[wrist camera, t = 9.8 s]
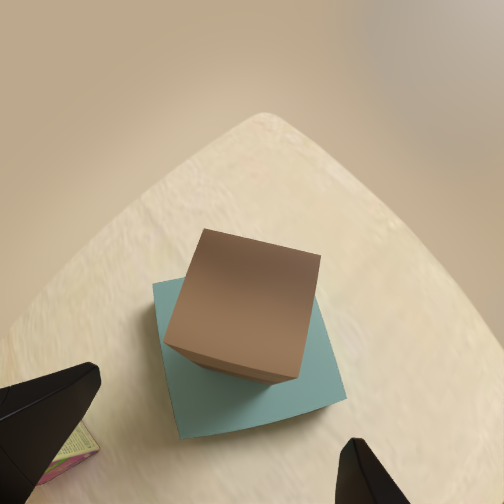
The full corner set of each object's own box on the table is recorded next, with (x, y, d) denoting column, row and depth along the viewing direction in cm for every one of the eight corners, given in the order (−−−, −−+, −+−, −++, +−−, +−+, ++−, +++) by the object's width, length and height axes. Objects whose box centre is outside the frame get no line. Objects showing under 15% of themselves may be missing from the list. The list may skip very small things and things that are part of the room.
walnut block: (271, 385, 18) (298, 378, 9) (201, 367, 18) (162, 341, 10) (286, 319, 20) (321, 255, 12) (220, 302, 21) (204, 228, 12)
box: (43, 486, 13) (-38, 501, 3) (14, 438, 15) (-69, 432, 5) (103, 450, 17) (13, 470, 7) (68, 396, 19) (-27, 379, 8)
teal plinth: (188, 433, 18) (180, 439, 16) (162, 296, 24) (152, 283, 21) (334, 398, 20) (347, 398, 17) (294, 269, 26) (300, 253, 23)
